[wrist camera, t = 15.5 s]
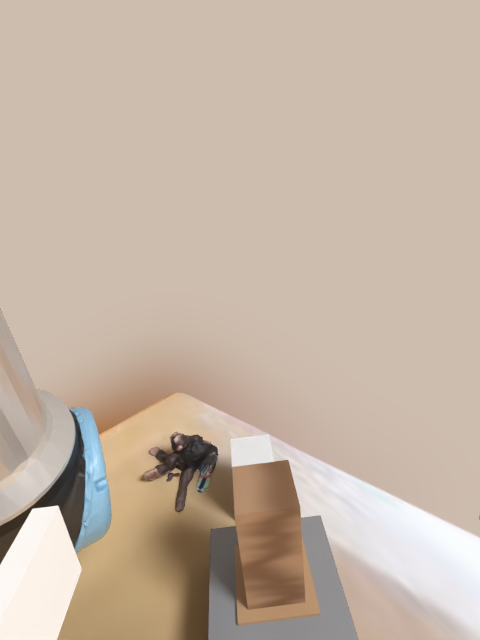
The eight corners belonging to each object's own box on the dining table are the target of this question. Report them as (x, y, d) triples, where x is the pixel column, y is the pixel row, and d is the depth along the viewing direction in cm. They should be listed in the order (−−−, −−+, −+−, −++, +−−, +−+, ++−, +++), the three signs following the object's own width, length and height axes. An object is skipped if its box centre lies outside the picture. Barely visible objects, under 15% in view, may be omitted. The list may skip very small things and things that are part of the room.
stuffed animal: (194, 423, 64) (218, 416, 54) (215, 478, 62) (243, 481, 52) (129, 453, 58) (142, 451, 48) (150, 513, 57) (168, 525, 46)
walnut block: (248, 609, 31) (234, 514, 27) (244, 554, 36) (232, 466, 32) (305, 602, 31) (300, 506, 27) (294, 548, 36) (288, 460, 32)
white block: (239, 523, 45) (231, 467, 42) (237, 492, 50) (230, 439, 47) (279, 518, 45) (274, 461, 42) (273, 487, 50) (268, 434, 47)
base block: (215, 703, 30) (207, 664, 28) (216, 561, 41) (210, 527, 39) (359, 683, 30) (360, 644, 28) (321, 548, 41) (320, 513, 39)
